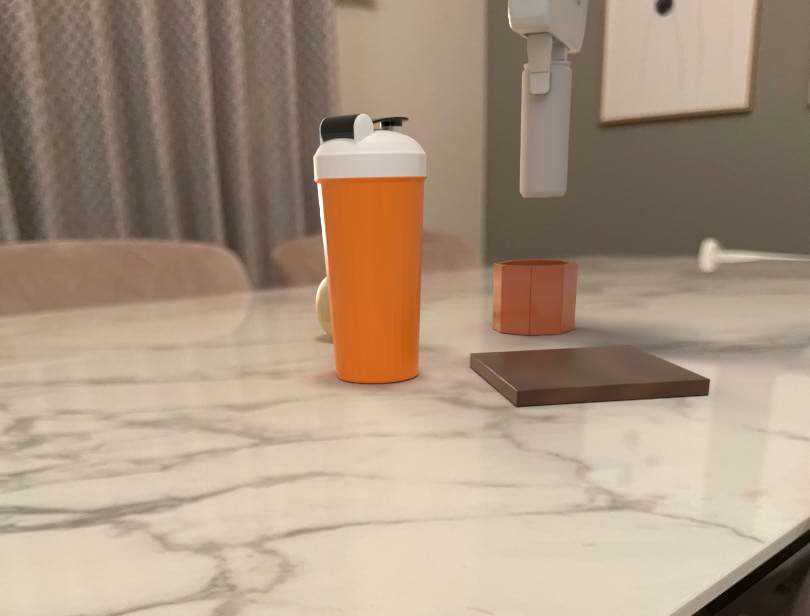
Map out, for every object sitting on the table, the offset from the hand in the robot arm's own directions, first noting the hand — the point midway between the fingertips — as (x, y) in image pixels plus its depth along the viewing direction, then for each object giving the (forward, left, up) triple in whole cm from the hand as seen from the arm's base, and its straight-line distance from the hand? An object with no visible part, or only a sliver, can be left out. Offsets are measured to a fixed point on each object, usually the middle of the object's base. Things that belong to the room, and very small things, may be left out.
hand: (546, 97), depth 83 cm
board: (+4, +24, -23) cm, 33 cm away
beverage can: (0, 0, -9) cm, 9 cm away
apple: (+20, -2, -23) cm, 30 cm away
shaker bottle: (+20, +18, -23) cm, 35 cm away
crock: (0, -2, -23) cm, 23 cm away
